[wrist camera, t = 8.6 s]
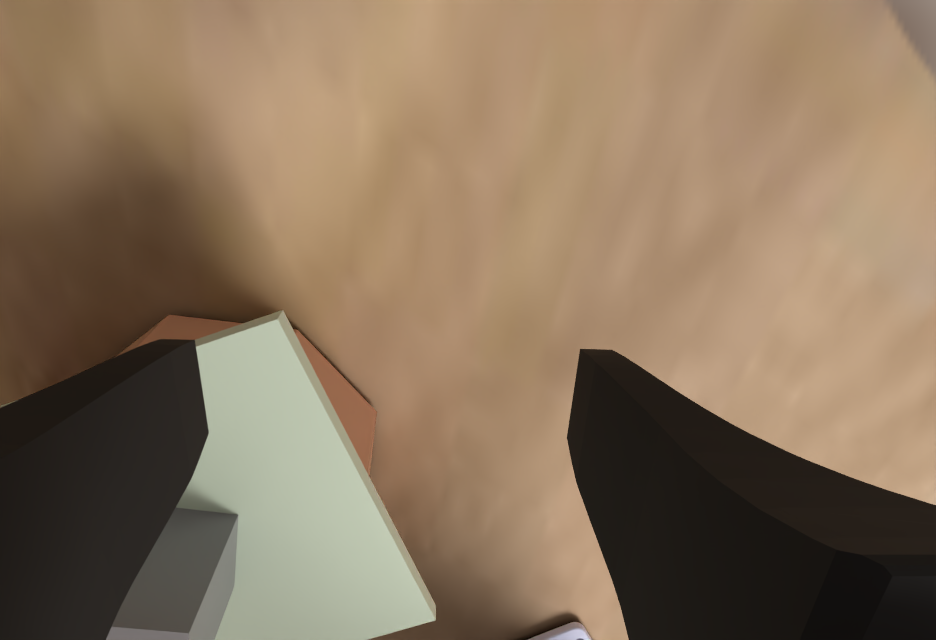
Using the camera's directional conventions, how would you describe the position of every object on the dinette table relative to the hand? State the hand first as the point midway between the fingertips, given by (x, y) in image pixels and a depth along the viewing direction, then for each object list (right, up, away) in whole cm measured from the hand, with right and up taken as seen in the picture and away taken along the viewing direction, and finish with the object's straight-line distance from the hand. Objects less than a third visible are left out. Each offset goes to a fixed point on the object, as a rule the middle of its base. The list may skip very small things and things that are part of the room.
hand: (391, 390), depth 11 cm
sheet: (-7, -5, +8) cm, 12 cm away
